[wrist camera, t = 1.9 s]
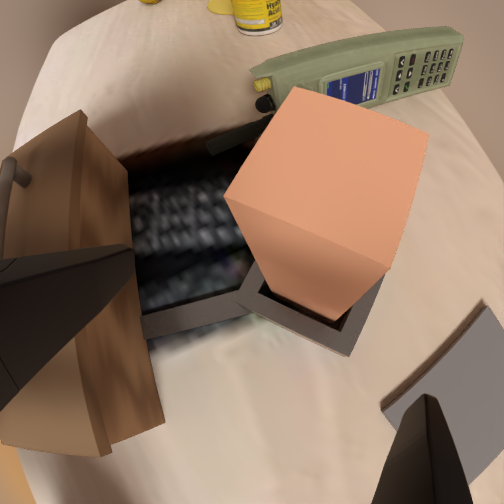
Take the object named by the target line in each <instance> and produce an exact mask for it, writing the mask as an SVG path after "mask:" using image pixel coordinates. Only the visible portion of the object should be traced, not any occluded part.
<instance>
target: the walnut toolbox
mask: <svg viewBox="0 0 504 504" xmlns="http://www.w3.org/2000/svg"><path fill="white" fill-rule="evenodd" d="M87 120H88V117H87V116H86V115H85V114H84V113H83V111H82V110H81V109H80V110H78V111H77V112H75V113H73V114H71V115H70V116H68V117H66V118H65V119H63V120H61V121H60V122H58V123H56V124H55V125H53V126H51V127H50V128H48V129H47V130H45V131H44V132H42V133H41V134H39V135H37V136H36V137H34V138H33V139H32V140H30V141H29V142H27V143H26V144H24V145H23V146H21V147H20V148H19V149H17V150H16V151H14V152H13V153H12V154H10V155H9V156H8V157H6V158H5V159H4V160H3V161H2V164H1V168H0V259H7V258H14V257H21V256H28V255H36V254H43V253H50V252H58V251H65V250H73V249H81V248H89V247H97V246H105V245H113V244H122V243H123V244H126V245H128V246H129V247H131V248H133V244H132V234H131V222H130V209H129V192H128V171H127V170H126V169H125V168H124V167H123V166H122V165H121V164H120V162H119V161H118V160H117V159H116V158H115V157H114V156H113V155H112V153H111V152H110V151H109V150H108V149H107V148H106V147H105V146H104V144H103V143H102V142H101V141H100V140H99V139H98V138H97V137H96V135H95V134H94V133H93V132H92V131H91V130H90V129H89V127H88V126H87ZM140 316H142V313H141V307H140V300H139V293H138V286H137V279H136V271H135V272H134V275H133V277H132V278H131V279H130V281H129V282H128V283H127V284H126V285H125V286H124V287H123V288H122V289H121V290H120V292H119V293H118V294H117V295H116V296H115V297H114V298H113V299H112V300H111V302H110V303H109V304H108V305H107V306H106V307H105V308H104V309H103V310H102V311H101V312H100V313H99V314H98V315H97V316H96V317H95V318H94V319H93V320H92V321H91V322H90V323H89V324H87V325H86V326H85V327H84V328H83V329H82V330H81V331H80V332H79V333H78V334H77V335H76V336H75V337H74V338H73V339H72V340H71V341H70V342H68V343H67V344H66V345H65V346H64V347H63V348H62V349H61V350H60V351H59V352H58V353H57V354H56V355H55V356H54V357H53V358H52V359H51V360H50V361H49V362H48V363H47V364H46V365H45V366H44V367H43V368H42V369H41V370H40V371H39V372H38V373H37V374H36V375H35V376H34V377H33V378H32V379H31V380H30V381H29V382H28V383H27V384H26V385H25V386H24V387H23V388H22V389H21V390H20V392H19V393H18V394H17V395H16V396H15V397H14V398H13V399H12V400H11V401H10V402H9V403H8V404H7V405H6V407H5V408H4V409H3V410H2V411H1V412H0V439H1V443H2V444H4V445H9V446H14V447H18V448H24V449H29V450H35V451H42V452H49V453H57V454H66V455H76V456H89V457H102V456H105V455H107V454H110V453H112V449H111V446H110V445H111V444H114V443H117V442H119V441H122V440H125V439H127V438H130V437H132V436H135V435H137V434H140V433H142V432H144V431H147V430H149V429H152V428H154V427H156V426H158V425H161V424H163V423H165V420H164V416H163V412H162V408H161V404H160V401H159V396H158V392H157V388H156V384H155V380H154V375H153V371H152V366H151V361H150V356H149V352H148V346H147V341H146V340H144V339H143V334H142V328H141V322H140Z"/></svg>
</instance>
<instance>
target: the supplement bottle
mask: <svg viewBox="0 0 504 504" xmlns="http://www.w3.org/2000/svg"><path fill="white" fill-rule="evenodd" d="M231 4H232V8H233V13H234V17H235V21H236V25H237V28H238V30H239V31H240V32H241V33H243V34H246V35H252V36H258V35H266V34H270V33H273V32H275V31H277V30H279V29H280V28H281V26H282V24H283V20H282V11H281V3H280V0H231Z"/></svg>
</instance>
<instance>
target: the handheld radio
mask: <svg viewBox="0 0 504 504" xmlns="http://www.w3.org/2000/svg"><path fill="white" fill-rule="evenodd" d="M463 41H464V37H463V35H462V34H460V33H459V32H457V31H456V30H454V29H453V28H451V27H447V26H442V27H426V28H415V29H405V30H396V31H389V32H382V33H376V34H369V35H364V36H358V37H353V38H348V39H343V40H338V41H334V42H330V43H325V44H321V45H317V46H313V47H309V48H305V49H302V50H298V51H295V52H291V53H288V54H284V55H281V56H278V57H275V58H271V59H268V60H266V61H265V62H263V63H262V64H260V65H258V66H256V67H253V68H251V69H249V70H250V72H251V73H252V74H253V75H254V77H255V78H261V77H264V78H261V79H258V80H255V81H254V82H253V84H254V87H255V89H256V91H257V92H261V91H264V90H267V93H268V94H266V95H264V96H263V97H260V98H258V99H257V101H256V104H255V105H256V108H257V110H258V111H259V112H261V113H267V112H269V111H271V114H270V115H267V116H264V117H263V119H260V120H258V121H255V122H251V123H248V124H246V125H243V126H241V127H238V128H236V129H233V130H231V131H229V132H226V133H224V134H222V135H219V136H217V137H215V138H212V139H210V140H208V141H206V147H207V149H208V151H209V153H210V154H211V155H212V156H214V155H217V154H219V153H221V152H223V151H225V150H228V149H230V148H232V147H235V146H237V145H239V144H241V143H244V142H246V141H248V140H251V139H253V138H256V137H258V136H259V134H262V133H263V132H264V131H265V129H266V128H267V126H268V125H269V123H270V122H271V120H272V119H273V117H274V115H275V114H276V112H277V111H278V109H279V108H280V106H281V105H282V103H283V102H284V101H285V99H286V98H287V96H288V95H289V93H290V92H291V90H292V89H293V87H294V86H295V87H299V88H303V89H306V90H310V91H313V92H317V93H320V94H324V95H327V96H330V97H334V98H337V99H340V100H343V101H346V102H349V103H352V104H355V105H358V106H361V107H364V108H366V109H368V108H371V107H374V106H377V105H381V104H384V103H387V102H391V101H394V100H397V99H401V98H404V97H408V96H411V95H415V94H418V93H422V92H426V91H430V90H434V89H437V88H441V87H446V86H449V85H450V83H451V80H452V76H453V74H454V71H455V68H456V65H457V61H458V58H459V55H460V51H461V48H462V45H463ZM267 97H268V98H269V99H267Z"/></svg>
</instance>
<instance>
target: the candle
mask: <svg viewBox="0 0 504 504" xmlns="http://www.w3.org/2000/svg"><path fill="white" fill-rule="evenodd" d="M207 8H208V9H209V11H210V12H212V13H216V14H225V15H233V14H234V13H233V8H232V4H231V0H210V1H209V3H208V5H207Z"/></svg>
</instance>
